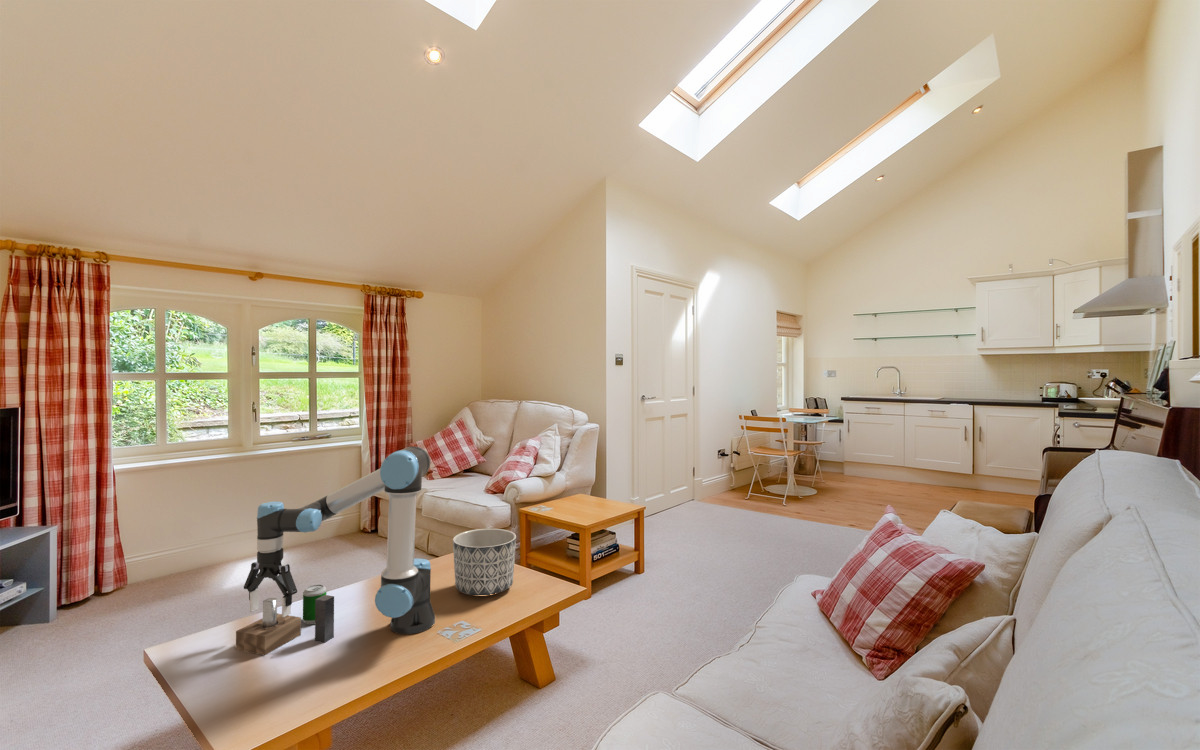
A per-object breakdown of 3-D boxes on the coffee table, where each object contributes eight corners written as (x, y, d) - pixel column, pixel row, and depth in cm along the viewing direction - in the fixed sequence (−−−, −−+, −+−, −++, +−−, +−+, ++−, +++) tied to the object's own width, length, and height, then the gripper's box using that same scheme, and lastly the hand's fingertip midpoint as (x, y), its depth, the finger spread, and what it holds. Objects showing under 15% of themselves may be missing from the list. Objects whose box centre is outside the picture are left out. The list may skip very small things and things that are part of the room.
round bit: (279, 640, 179) (279, 598, 179) (268, 645, 175) (269, 603, 175) (269, 638, 180) (270, 597, 180) (259, 644, 176) (259, 601, 176)
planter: (466, 576, 237) (467, 527, 238) (523, 579, 234) (523, 529, 234) (441, 600, 212) (442, 545, 212) (504, 604, 208) (504, 548, 208)
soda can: (316, 626, 189) (316, 592, 189) (297, 624, 190) (298, 590, 190) (330, 617, 196) (331, 584, 196) (313, 615, 198) (313, 582, 198)
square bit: (333, 637, 181) (334, 596, 181) (324, 642, 177) (325, 601, 177) (324, 635, 182) (324, 594, 182) (314, 641, 178) (315, 599, 178)
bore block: (300, 634, 182) (300, 617, 182) (264, 655, 169) (264, 636, 169) (273, 629, 186) (273, 612, 186) (235, 649, 172) (236, 631, 172)
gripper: (309, 549, 178) (309, 612, 177) (251, 542, 185) (251, 603, 184) (290, 556, 170) (290, 622, 170) (231, 549, 177) (231, 612, 177)
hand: (270, 612), depth 177 cm, fingers open, 13 cm apart
